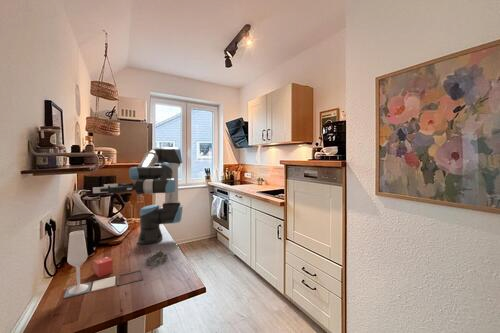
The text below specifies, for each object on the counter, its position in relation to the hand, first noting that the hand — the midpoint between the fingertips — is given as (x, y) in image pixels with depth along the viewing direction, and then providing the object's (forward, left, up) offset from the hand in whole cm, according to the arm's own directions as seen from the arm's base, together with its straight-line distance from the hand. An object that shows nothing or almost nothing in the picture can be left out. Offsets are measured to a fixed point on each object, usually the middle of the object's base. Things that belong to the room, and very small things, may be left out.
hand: (98, 188), depth 113 cm
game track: (-2, +20, -40) cm, 45 cm away
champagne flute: (+7, +20, -40) cm, 45 cm away
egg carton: (-25, +8, -40) cm, 49 cm away
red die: (-1, +8, -40) cm, 41 cm away
